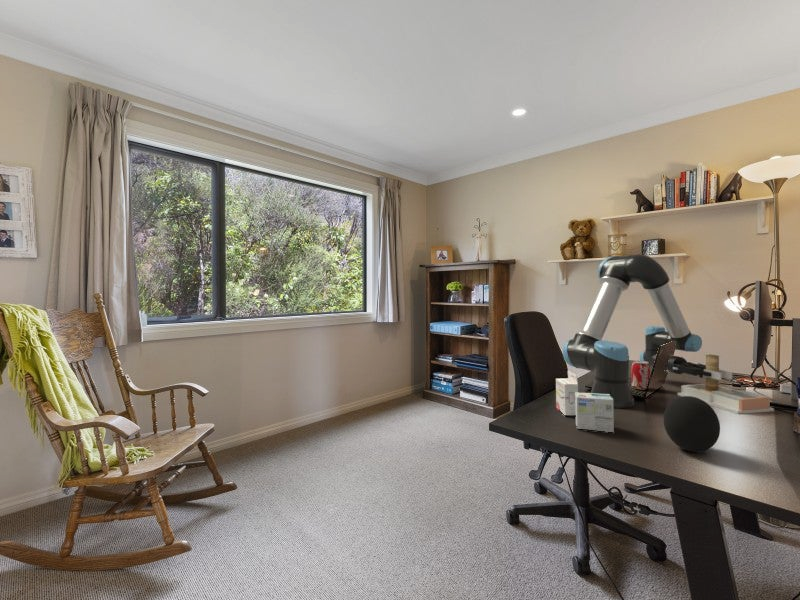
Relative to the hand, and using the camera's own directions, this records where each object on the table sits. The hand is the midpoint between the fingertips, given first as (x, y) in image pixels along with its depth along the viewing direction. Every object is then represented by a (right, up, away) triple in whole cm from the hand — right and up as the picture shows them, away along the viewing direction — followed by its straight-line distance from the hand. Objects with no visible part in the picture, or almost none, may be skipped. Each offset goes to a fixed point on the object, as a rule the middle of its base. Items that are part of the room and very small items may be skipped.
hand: (725, 376), depth 143 cm
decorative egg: (-44, -13, -39) cm, 60 cm away
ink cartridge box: (-64, -12, -7) cm, 65 cm away
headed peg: (-1, -9, +6) cm, 10 cm away
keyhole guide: (0, -10, +2) cm, 10 cm away
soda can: (-18, -10, +22) cm, 31 cm away
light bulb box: (-61, -13, -22) cm, 66 cm away
